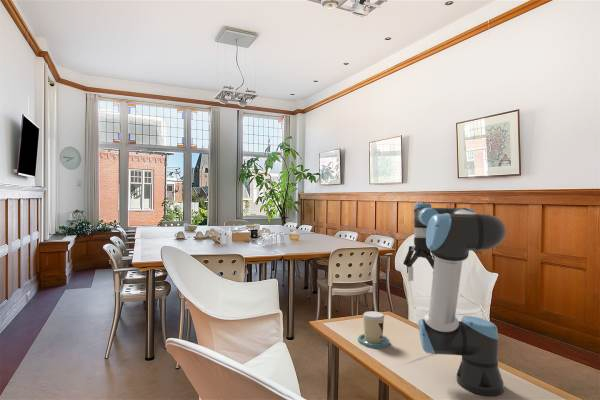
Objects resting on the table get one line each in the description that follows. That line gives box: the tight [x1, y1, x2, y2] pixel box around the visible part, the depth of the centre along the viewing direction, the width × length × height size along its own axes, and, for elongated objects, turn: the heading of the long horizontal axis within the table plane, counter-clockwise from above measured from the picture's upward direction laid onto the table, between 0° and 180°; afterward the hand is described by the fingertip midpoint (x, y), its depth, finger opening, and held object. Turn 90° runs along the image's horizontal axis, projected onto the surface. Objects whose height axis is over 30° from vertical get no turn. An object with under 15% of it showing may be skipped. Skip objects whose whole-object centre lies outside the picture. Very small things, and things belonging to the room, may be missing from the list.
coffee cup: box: [362, 310, 385, 344], centre depth 165 cm, size 9×9×12 cm
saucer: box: [357, 333, 390, 349], centre depth 165 cm, size 14×14×2 cm
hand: (422, 283), depth 165 cm, fingers open, 13 cm apart
